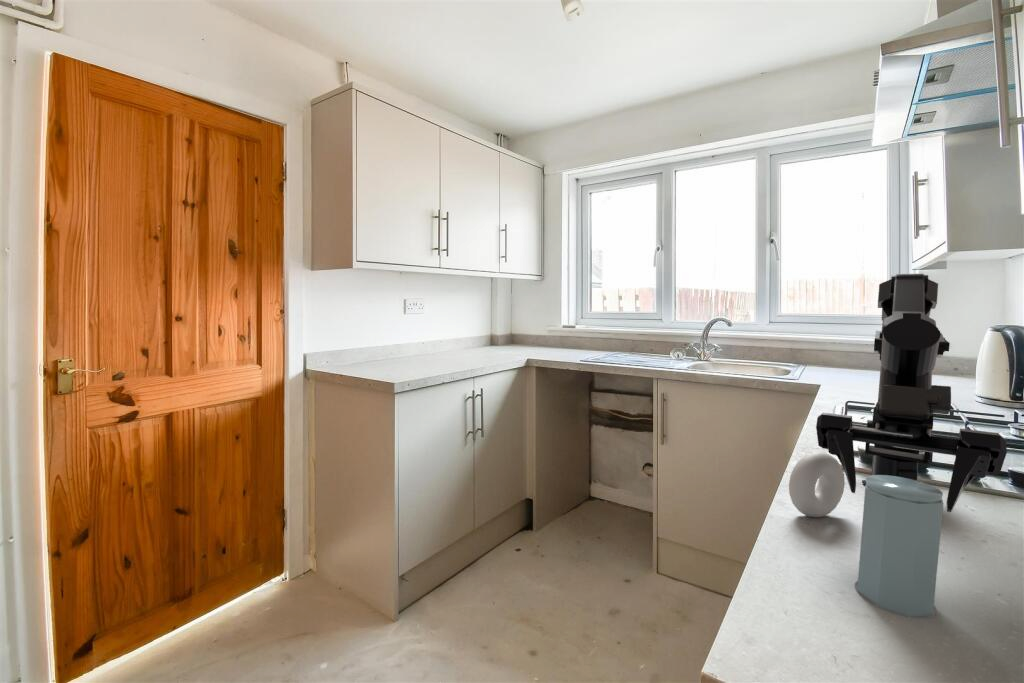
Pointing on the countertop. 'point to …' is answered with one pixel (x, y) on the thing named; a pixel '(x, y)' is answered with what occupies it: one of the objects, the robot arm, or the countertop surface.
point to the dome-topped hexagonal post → (900, 544)
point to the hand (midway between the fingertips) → (898, 500)
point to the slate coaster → (893, 611)
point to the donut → (805, 481)
